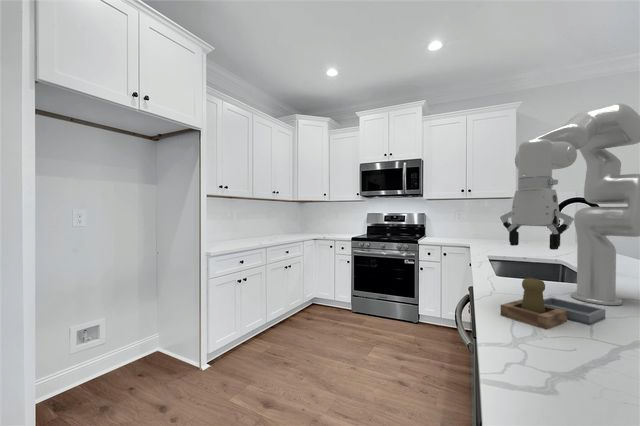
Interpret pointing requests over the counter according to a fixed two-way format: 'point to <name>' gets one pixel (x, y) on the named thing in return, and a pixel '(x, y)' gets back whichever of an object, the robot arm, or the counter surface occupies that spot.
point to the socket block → (534, 315)
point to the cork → (533, 295)
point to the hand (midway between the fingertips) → (533, 247)
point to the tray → (577, 311)
